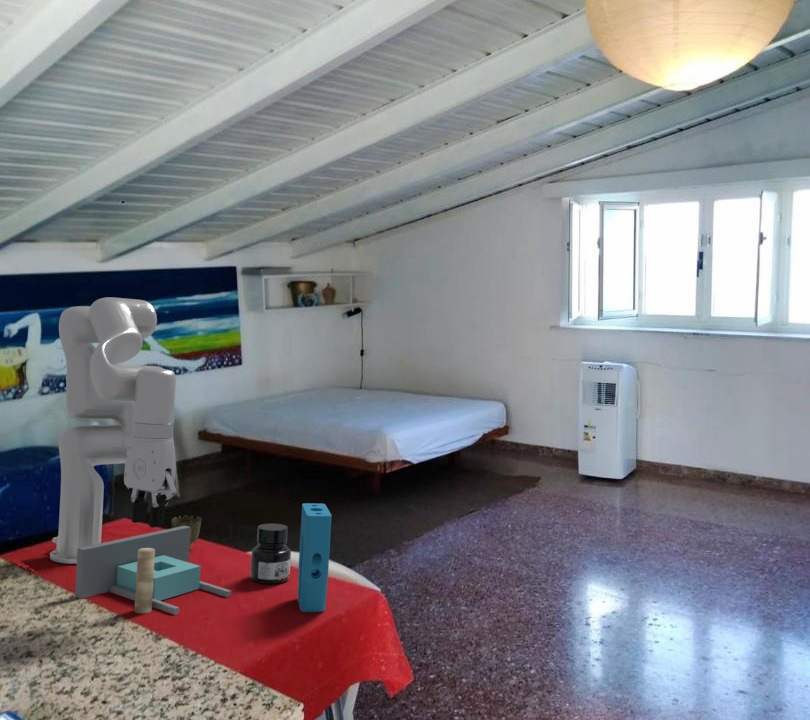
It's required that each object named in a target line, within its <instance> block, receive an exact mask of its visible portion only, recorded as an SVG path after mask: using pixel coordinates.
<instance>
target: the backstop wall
mask: <svg viewBox="0 0 810 720" xmlns="http://www.w3.org/2000/svg"><path fill="white" fill-rule="evenodd" d="M190 532H191V527H188V526H181V527H176V528H172V527H171V528H168V529H167V528H166V529H163V530H159V531H157V530H156V531H153V532H148V533H143V534H140V535H139V534H138V535H134V536H129V537H124V538H120V539H115V540H110V541H105V542H101V543H100V544H95V545H90V546H85V547H81V548H78V550H77V564H76V570H75V573H76V574H75V591H74V597H75V598H77V599H80V600H83V599H86V598H90V597H94V596H97V595H102V594H105V593H108V592H109V593H112V594H115V595H118V596H120V597H124V598H126V599H129V600H132V601H134V602H135V594H136V592H133V591H130V590H127V589H124V588H121V587H118V586H117V568H118V566H121V565H125V564H129V563H133V562H137V559H138V550H139V549H142V548H153V549H155V557H158V556H162V555H165V556H168V557H171V558H175V559H178V560H182V561H185V562H188V563H190V551H191V549H190ZM199 589H200V590H203V591H206V592H209V593H213V594H216V595H219V596H223V597H225V598H230V597H231V596H232V590H231V589H230V590H229V589H227V588H224V587H221V586H218V585H214V584H211V583H208V582H204V581H201V580H200V585H199ZM199 589H198V590H199ZM152 608H154V609H157V610H160V611H163V612H166V613H168V614H172V615H179V613H180V607H179V606H176V605H173V604H172V603H171V604H170V603H167V602H165V601H163V600H160V601H159V600H156V599H153V598H152Z"/></svg>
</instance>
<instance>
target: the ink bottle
mask: <svg viewBox="0 0 810 720" xmlns="http://www.w3.org/2000/svg"><path fill="white" fill-rule="evenodd" d="M288 528H289V527H288V526H287V525H285V524H282V523H281V524H280V523H262V524H260V525H258V526H257V533H256V542H257V545H256V546H255V547H253V548H252V550H251V557H250V558H251V561H250V574H249V575H250V579H251V580H252V581H254V582H256V583H259V584H262V585H263V584H265V585H266V584H267V585H274V584H281V583H284V582H286V581H289V580H290V576H291V559H292V557H291V556H292V552H291V549H290V548H289V547H288V545H286V544H288V531H289V529H288ZM289 574H290V576H289V577H287V576H288V575H289ZM285 577H287V578H285ZM283 578H285V579H283ZM278 579H281V580H278Z"/></svg>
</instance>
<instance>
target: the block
mask: <svg viewBox="0 0 810 720" xmlns="http://www.w3.org/2000/svg"><path fill="white" fill-rule="evenodd" d="M331 529H332V513H331V512H330V509H328V507H327V505H326V504H325V503H309V502H306V503H302V505H301V521H300V537H299V551H298V552H299V553H298V569H297V570H298V571H297V572H298V573H297V574H298V575H297V576H298V577H297V602H298V604H299V606H298V607H299V610H300V612H303V613H317V612H318V613H319V612H325V611H326V601H327V591H328V580H329V564H330V550H331V549H330V547H331Z"/></svg>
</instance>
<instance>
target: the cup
mask: <svg viewBox="0 0 810 720" xmlns="http://www.w3.org/2000/svg"><path fill="white" fill-rule="evenodd" d="M172 517H173V516H172ZM202 519H203V518H202V517H200V516H196V518H194V516H193V515H190V516H189V515H187V514H185V515H183V516H180V515H179V516H178V517H177V516H174V517H173V518H171V521H170V522H171V528H176V527H181V526H188V527H191V532H190V544H192V546H191V547H190V550H192V549H193V544H194V543H196V541H197V540H198V538H199V534H200V530H201V525H202Z"/></svg>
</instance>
